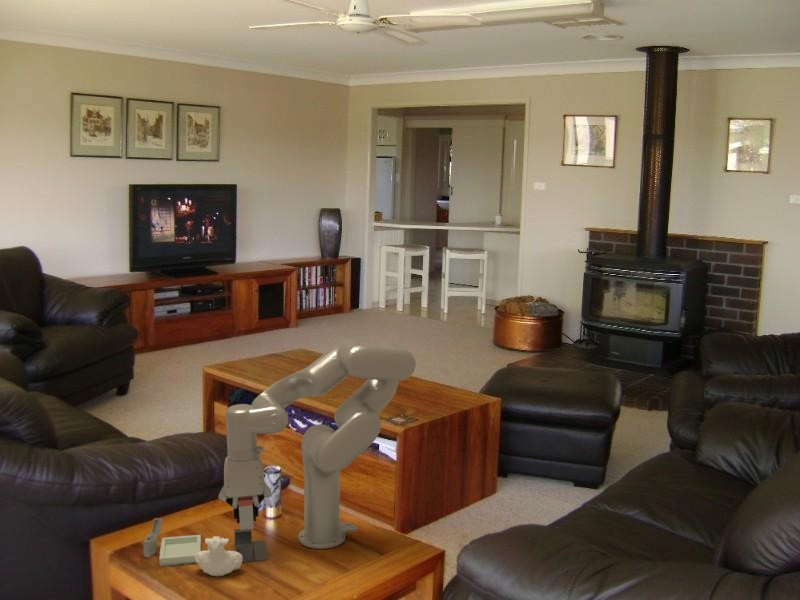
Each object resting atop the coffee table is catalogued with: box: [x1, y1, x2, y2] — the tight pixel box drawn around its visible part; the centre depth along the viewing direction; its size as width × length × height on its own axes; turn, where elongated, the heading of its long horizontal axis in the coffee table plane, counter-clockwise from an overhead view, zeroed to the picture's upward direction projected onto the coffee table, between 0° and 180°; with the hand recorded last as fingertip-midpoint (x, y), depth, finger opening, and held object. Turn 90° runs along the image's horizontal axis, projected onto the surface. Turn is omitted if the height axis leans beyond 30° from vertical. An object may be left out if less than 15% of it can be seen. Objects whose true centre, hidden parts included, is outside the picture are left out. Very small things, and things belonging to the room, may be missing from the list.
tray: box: [158, 534, 202, 567], centre depth 223 cm, size 10×12×2 cm
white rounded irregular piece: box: [194, 535, 243, 577], centre depth 212 cm, size 12×8×11 cm
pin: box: [238, 496, 255, 530], centre depth 223 cm, size 4×4×8 cm
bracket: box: [233, 528, 268, 563], centre depth 225 cm, size 8×11×4 cm
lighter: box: [142, 517, 163, 558], centre depth 224 cm, size 7×2×8 cm, turn 166°
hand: (246, 519), depth 224 cm, fingers closed on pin, 3 cm apart
